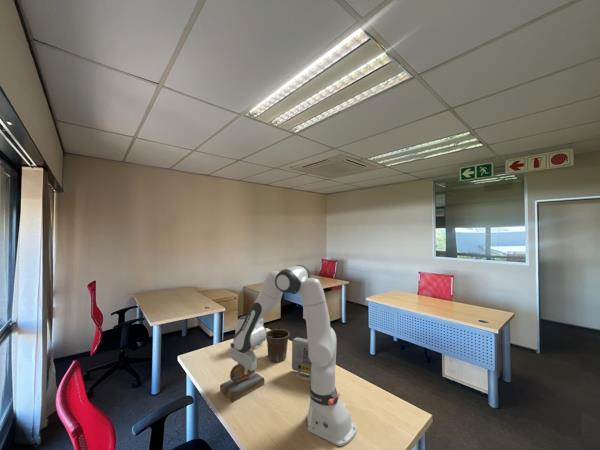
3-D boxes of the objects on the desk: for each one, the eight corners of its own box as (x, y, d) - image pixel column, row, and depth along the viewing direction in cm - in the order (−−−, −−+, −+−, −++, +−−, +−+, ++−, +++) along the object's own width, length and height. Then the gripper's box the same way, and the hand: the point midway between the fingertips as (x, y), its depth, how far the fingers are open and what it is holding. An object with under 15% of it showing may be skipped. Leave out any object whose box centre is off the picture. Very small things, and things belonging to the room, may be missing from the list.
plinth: (264, 384, 137) (264, 377, 137) (232, 402, 122) (232, 394, 122) (251, 376, 145) (251, 369, 145) (220, 391, 130) (220, 384, 130)
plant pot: (273, 350, 178) (273, 327, 178) (293, 355, 170) (293, 331, 171) (260, 360, 163) (260, 335, 163) (281, 366, 156) (281, 340, 156)
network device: (335, 378, 144) (335, 343, 144) (331, 386, 136) (331, 349, 136) (296, 367, 154) (296, 335, 155) (289, 375, 146) (290, 340, 147)
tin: (231, 385, 127) (232, 369, 127) (228, 382, 129) (229, 366, 129) (255, 373, 138) (256, 358, 138) (252, 371, 140) (253, 356, 140)
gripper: (260, 350, 129) (259, 377, 129) (238, 339, 143) (237, 363, 143) (250, 354, 125) (249, 382, 124) (228, 342, 139) (227, 367, 138)
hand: (243, 372), depth 134 cm, fingers closed on tin, 2 cm apart
